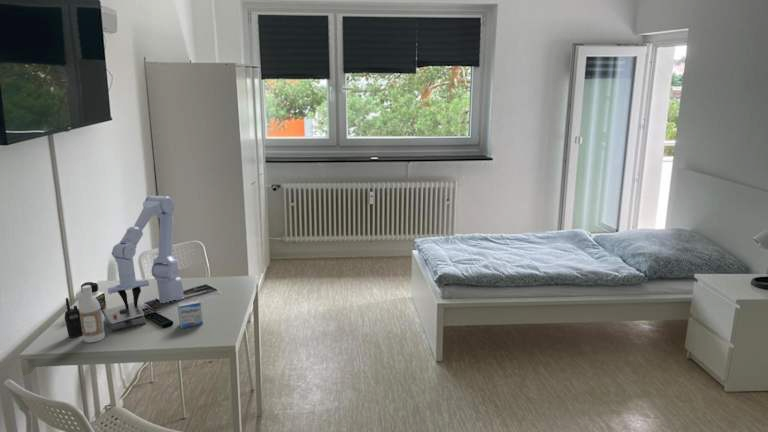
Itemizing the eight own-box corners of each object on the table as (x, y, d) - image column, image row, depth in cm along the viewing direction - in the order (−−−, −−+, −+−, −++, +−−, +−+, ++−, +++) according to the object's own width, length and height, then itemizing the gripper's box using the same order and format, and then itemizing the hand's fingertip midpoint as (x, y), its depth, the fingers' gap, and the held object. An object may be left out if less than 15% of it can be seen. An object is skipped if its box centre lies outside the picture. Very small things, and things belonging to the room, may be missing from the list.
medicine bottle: (95, 315, 234) (90, 286, 231) (79, 314, 235) (74, 285, 233) (107, 308, 241) (102, 280, 238) (91, 307, 242) (87, 279, 239)
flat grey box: (135, 310, 237) (134, 303, 236) (147, 326, 222) (146, 318, 221) (103, 318, 231) (102, 311, 230) (112, 334, 215) (111, 327, 215)
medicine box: (181, 328, 219) (178, 306, 217) (179, 324, 223) (176, 303, 221) (203, 324, 222) (200, 302, 220) (201, 320, 226) (198, 298, 224)
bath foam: (81, 344, 208) (72, 290, 204) (86, 336, 215) (78, 284, 210) (102, 341, 210) (94, 288, 205) (107, 333, 217) (99, 282, 212)
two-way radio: (68, 339, 213) (62, 300, 209) (66, 335, 216) (60, 296, 213) (85, 334, 216) (79, 296, 213) (83, 330, 220) (77, 292, 216)
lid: (135, 303, 234) (135, 299, 234) (144, 315, 223) (143, 310, 222) (102, 312, 228) (101, 308, 227) (109, 325, 216) (108, 320, 216)
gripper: (108, 280, 219) (113, 314, 222) (149, 272, 227) (153, 305, 230) (104, 275, 225) (109, 309, 228) (144, 267, 233) (149, 300, 236)
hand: (131, 307), depth 230 cm, fingers closed on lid, 2 cm apart
